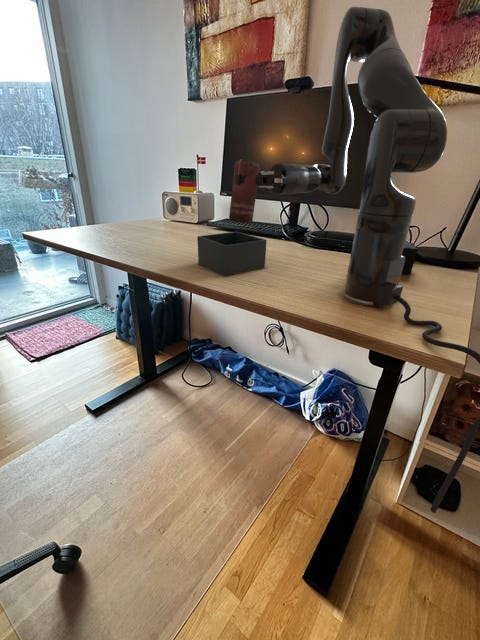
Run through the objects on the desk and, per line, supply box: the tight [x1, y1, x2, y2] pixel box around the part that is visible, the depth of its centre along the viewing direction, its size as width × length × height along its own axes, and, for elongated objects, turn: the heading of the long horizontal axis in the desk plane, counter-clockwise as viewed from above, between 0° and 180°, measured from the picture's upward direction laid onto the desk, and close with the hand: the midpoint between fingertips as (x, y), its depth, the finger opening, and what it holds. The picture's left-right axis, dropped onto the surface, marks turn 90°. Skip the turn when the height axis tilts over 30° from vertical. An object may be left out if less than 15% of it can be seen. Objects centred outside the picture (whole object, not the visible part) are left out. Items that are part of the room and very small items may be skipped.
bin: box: [196, 231, 268, 277], centre depth 81 cm, size 13×13×8 cm
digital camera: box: [401, 240, 419, 275], centre depth 82 cm, size 10×5×7 cm, turn 168°
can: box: [228, 158, 260, 224], centre depth 75 cm, size 6×6×14 cm
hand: (237, 179), depth 72 cm, fingers closed
